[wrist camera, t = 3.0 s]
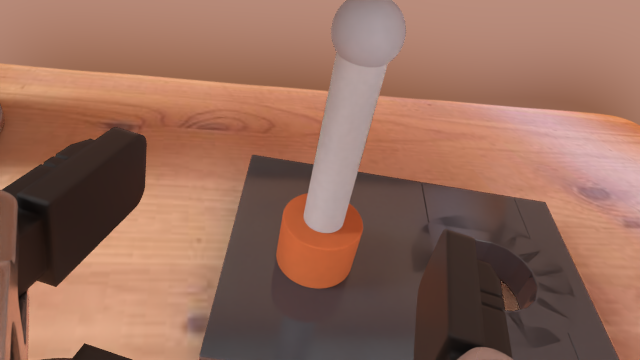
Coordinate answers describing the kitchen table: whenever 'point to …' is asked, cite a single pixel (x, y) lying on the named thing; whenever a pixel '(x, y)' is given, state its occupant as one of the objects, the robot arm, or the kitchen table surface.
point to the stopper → (340, 147)
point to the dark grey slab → (392, 274)
